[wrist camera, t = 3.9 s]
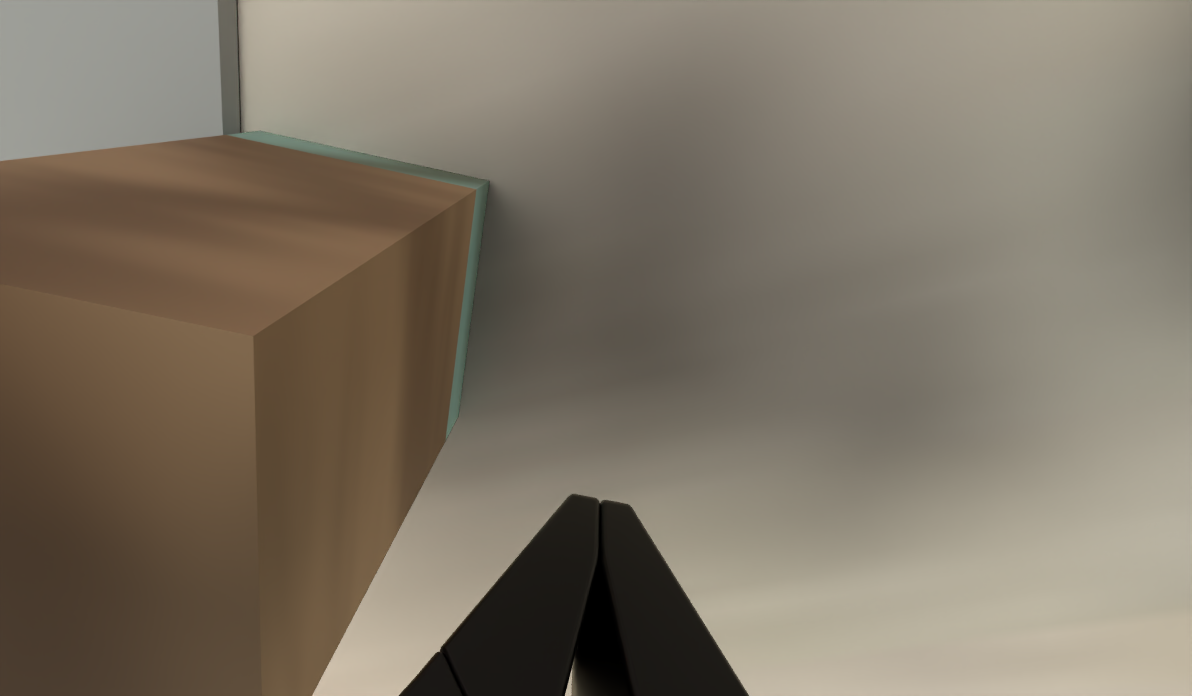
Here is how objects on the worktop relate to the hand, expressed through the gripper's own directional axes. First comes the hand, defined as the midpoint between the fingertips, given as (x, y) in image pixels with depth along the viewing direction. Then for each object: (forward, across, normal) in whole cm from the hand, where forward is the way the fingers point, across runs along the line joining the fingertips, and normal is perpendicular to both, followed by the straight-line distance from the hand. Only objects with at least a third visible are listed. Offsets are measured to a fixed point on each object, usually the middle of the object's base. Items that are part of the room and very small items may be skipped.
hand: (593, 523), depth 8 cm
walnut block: (+7, +6, 0) cm, 9 cm away
